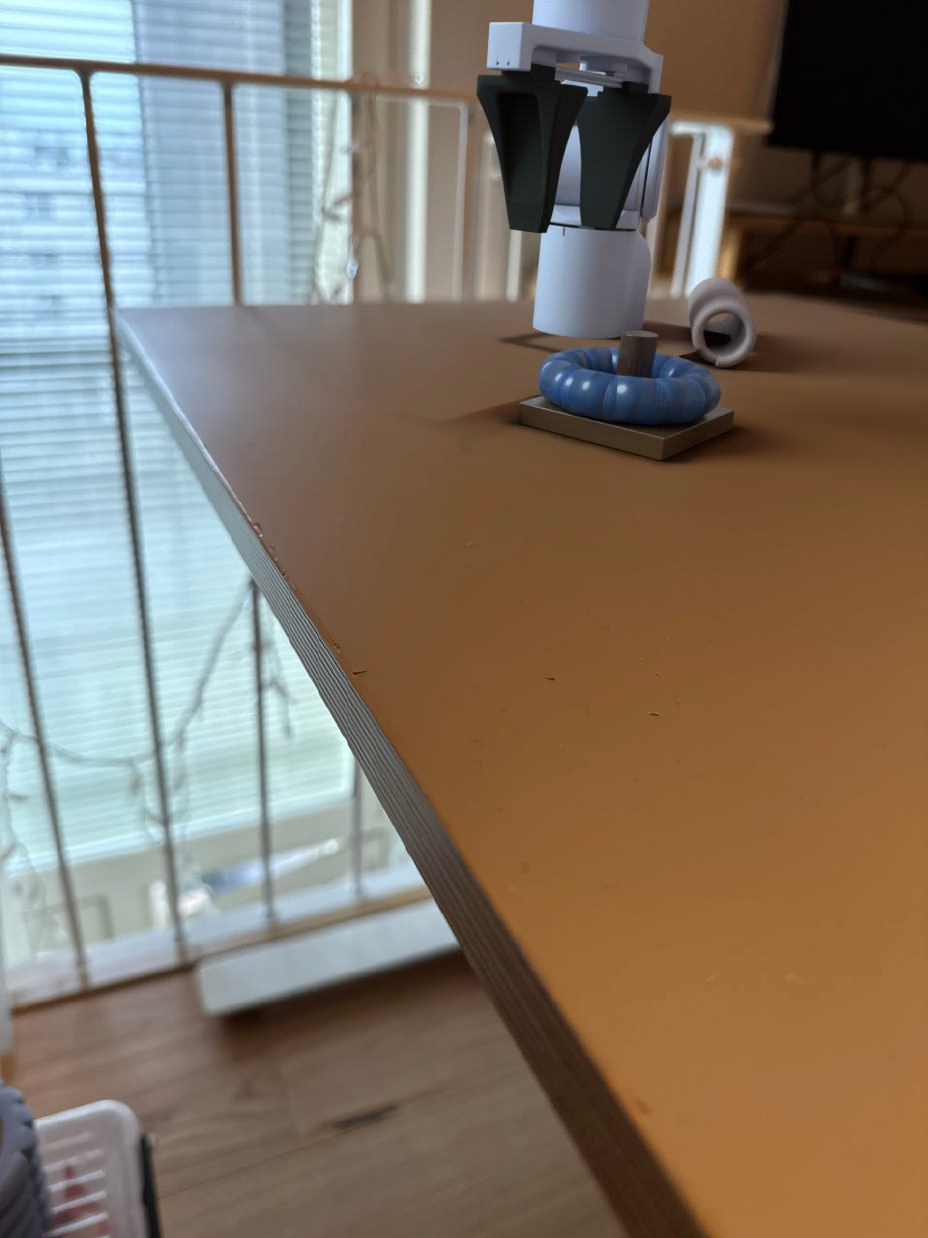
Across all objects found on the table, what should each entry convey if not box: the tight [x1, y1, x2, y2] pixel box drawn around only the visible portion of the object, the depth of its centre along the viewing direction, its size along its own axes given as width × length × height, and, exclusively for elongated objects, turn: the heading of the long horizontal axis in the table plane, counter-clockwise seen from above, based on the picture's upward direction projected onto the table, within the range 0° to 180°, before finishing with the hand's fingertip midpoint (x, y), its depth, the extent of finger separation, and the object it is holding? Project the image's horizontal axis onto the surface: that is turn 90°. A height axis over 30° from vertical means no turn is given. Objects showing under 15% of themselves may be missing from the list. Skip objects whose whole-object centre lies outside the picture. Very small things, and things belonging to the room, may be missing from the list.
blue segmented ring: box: [538, 346, 722, 425], centre depth 52 cm, size 10×10×2 cm
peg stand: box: [517, 329, 736, 461], centre depth 52 cm, size 9×9×5 cm
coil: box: [687, 276, 758, 368], centre depth 77 cm, size 5×5×18 cm
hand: (564, 229), depth 53 cm, fingers open, 7 cm apart
